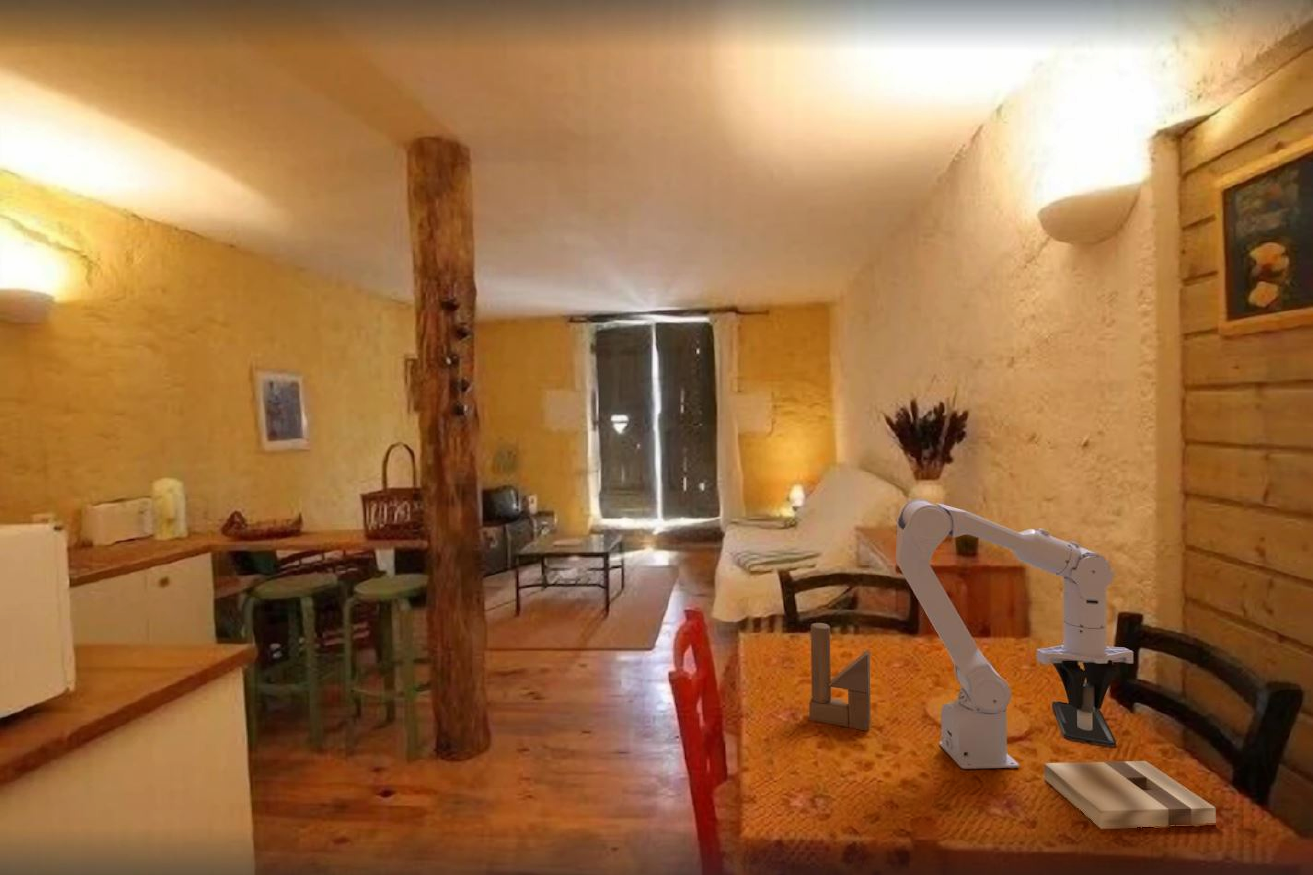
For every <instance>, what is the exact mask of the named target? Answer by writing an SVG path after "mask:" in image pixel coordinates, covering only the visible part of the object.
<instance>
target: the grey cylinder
mask: <svg viewBox="0 0 1313 875" xmlns="http://www.w3.org/2000/svg"><path fill="white" fill-rule="evenodd" d="M1093 712H1095V687H1094V685H1093V684H1090V683H1087V682H1086V681H1085V682H1084V686H1083V704H1082V709H1077V726H1078V727H1079V728H1080V729H1083V730H1092V713H1093Z"/></svg>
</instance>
